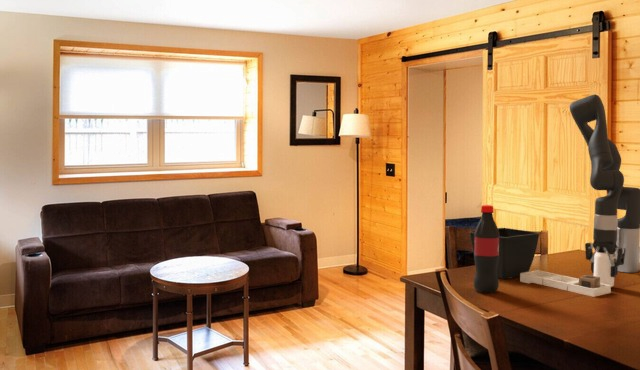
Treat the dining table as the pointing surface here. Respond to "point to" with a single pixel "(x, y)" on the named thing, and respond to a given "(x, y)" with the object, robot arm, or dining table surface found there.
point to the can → (603, 268)
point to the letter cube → (589, 281)
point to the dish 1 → (535, 276)
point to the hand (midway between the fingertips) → (603, 274)
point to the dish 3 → (589, 289)
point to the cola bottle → (486, 252)
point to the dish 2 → (559, 281)
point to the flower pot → (514, 251)
